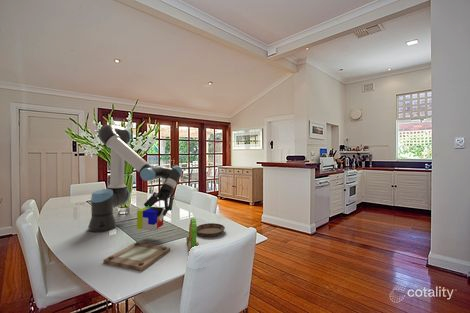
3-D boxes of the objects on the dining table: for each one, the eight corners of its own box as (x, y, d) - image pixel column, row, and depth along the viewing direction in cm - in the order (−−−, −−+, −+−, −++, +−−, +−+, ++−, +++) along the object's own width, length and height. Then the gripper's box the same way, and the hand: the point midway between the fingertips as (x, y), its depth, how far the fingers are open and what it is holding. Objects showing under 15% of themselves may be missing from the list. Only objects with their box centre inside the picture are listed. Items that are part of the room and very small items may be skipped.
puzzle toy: (153, 231, 122) (154, 212, 122) (136, 228, 124) (137, 210, 124) (163, 225, 132) (163, 207, 132) (147, 223, 134) (147, 206, 134)
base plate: (103, 263, 99) (103, 258, 99) (136, 245, 118) (136, 241, 118) (141, 271, 93) (141, 266, 93) (170, 250, 112) (170, 246, 112)
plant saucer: (199, 240, 127) (199, 234, 127) (192, 229, 143) (192, 225, 143) (229, 235, 134) (229, 230, 134) (219, 226, 150) (219, 221, 150)
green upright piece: (185, 241, 124) (186, 213, 124) (196, 240, 126) (196, 212, 125) (188, 254, 109) (188, 222, 109) (200, 252, 111) (200, 221, 110)
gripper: (186, 192, 142) (171, 225, 128) (155, 189, 149) (137, 219, 135) (182, 185, 137) (166, 218, 123) (149, 182, 144) (131, 213, 130)
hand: (151, 218), depth 129 cm, fingers closed on puzzle toy, 10 cm apart
